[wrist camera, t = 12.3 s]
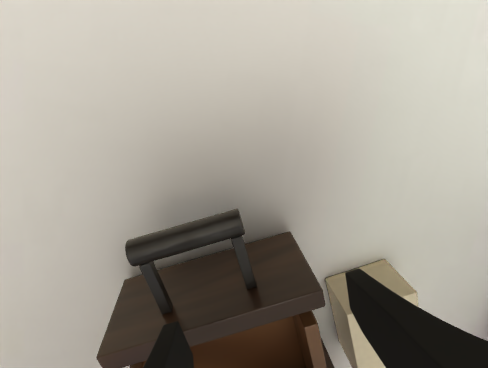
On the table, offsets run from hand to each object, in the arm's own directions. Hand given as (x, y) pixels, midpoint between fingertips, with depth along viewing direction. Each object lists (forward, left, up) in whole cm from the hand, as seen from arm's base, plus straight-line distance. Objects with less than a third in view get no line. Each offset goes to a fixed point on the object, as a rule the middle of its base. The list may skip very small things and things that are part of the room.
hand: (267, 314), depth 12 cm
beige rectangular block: (+8, -12, -10) cm, 17 cm away
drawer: (-3, -6, -9) cm, 11 cm away
